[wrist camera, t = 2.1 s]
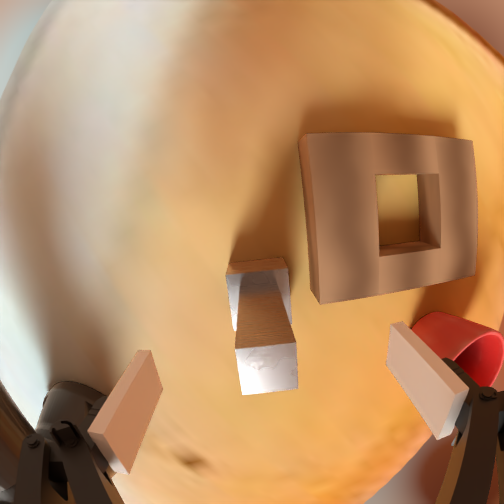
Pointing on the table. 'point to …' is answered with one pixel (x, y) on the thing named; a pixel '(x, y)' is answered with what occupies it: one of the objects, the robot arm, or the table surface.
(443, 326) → the flower pot
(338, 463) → the table surface
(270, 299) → the grey stepped bar
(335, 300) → the well block
